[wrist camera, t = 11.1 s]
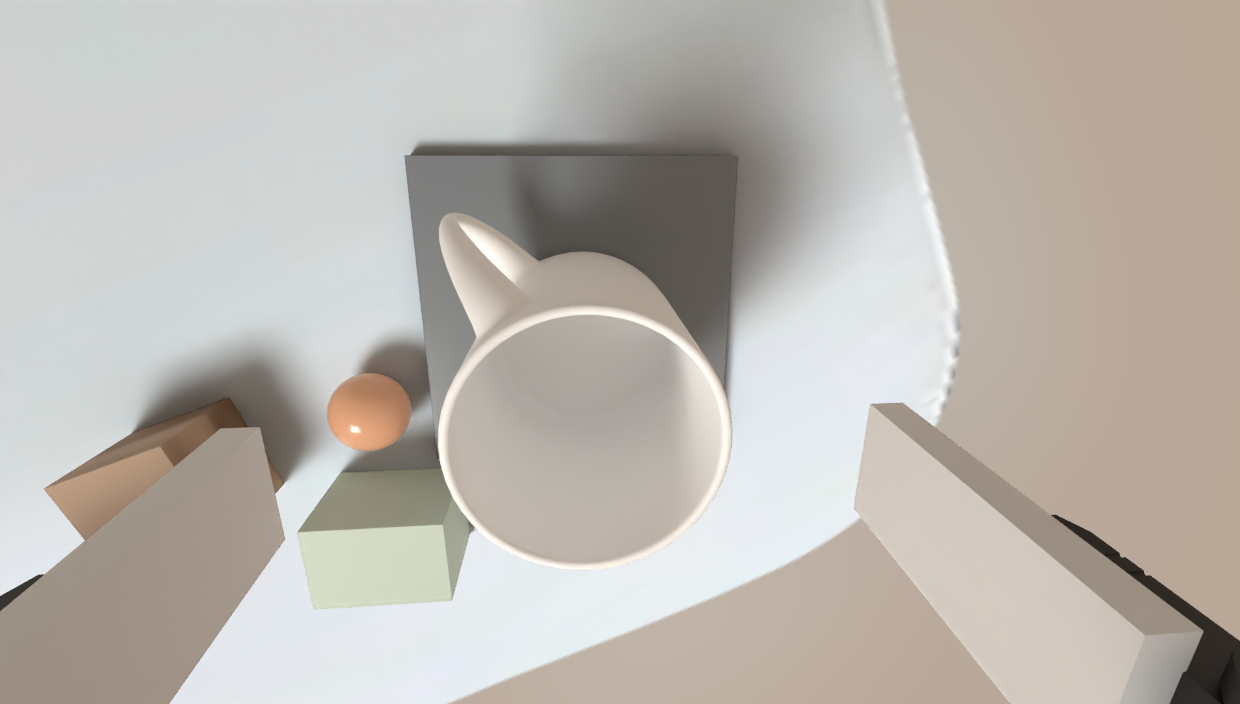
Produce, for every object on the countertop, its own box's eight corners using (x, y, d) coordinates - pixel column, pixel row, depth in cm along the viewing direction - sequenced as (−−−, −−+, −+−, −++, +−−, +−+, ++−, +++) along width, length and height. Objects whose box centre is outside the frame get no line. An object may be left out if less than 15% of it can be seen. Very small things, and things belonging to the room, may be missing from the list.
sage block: (341, 471, 29) (297, 532, 25) (462, 466, 30) (443, 524, 25) (353, 539, 31) (313, 609, 26) (469, 533, 31) (451, 600, 26)
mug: (555, 139, 24) (543, 126, 14) (707, 358, 28) (785, 471, 18) (396, 261, 25) (280, 328, 15) (563, 456, 29) (559, 616, 19)
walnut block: (133, 432, 28) (43, 488, 23) (230, 396, 28) (159, 446, 23) (193, 516, 29) (120, 584, 25) (284, 482, 29) (229, 545, 24)
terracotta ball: (338, 363, 27) (307, 391, 24) (415, 361, 28) (394, 389, 24) (349, 431, 28) (320, 467, 25) (423, 428, 29) (403, 463, 25)
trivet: (409, 155, 25) (404, 155, 24) (732, 155, 26) (737, 155, 25) (440, 450, 29) (437, 458, 28) (716, 440, 30) (720, 447, 30)
